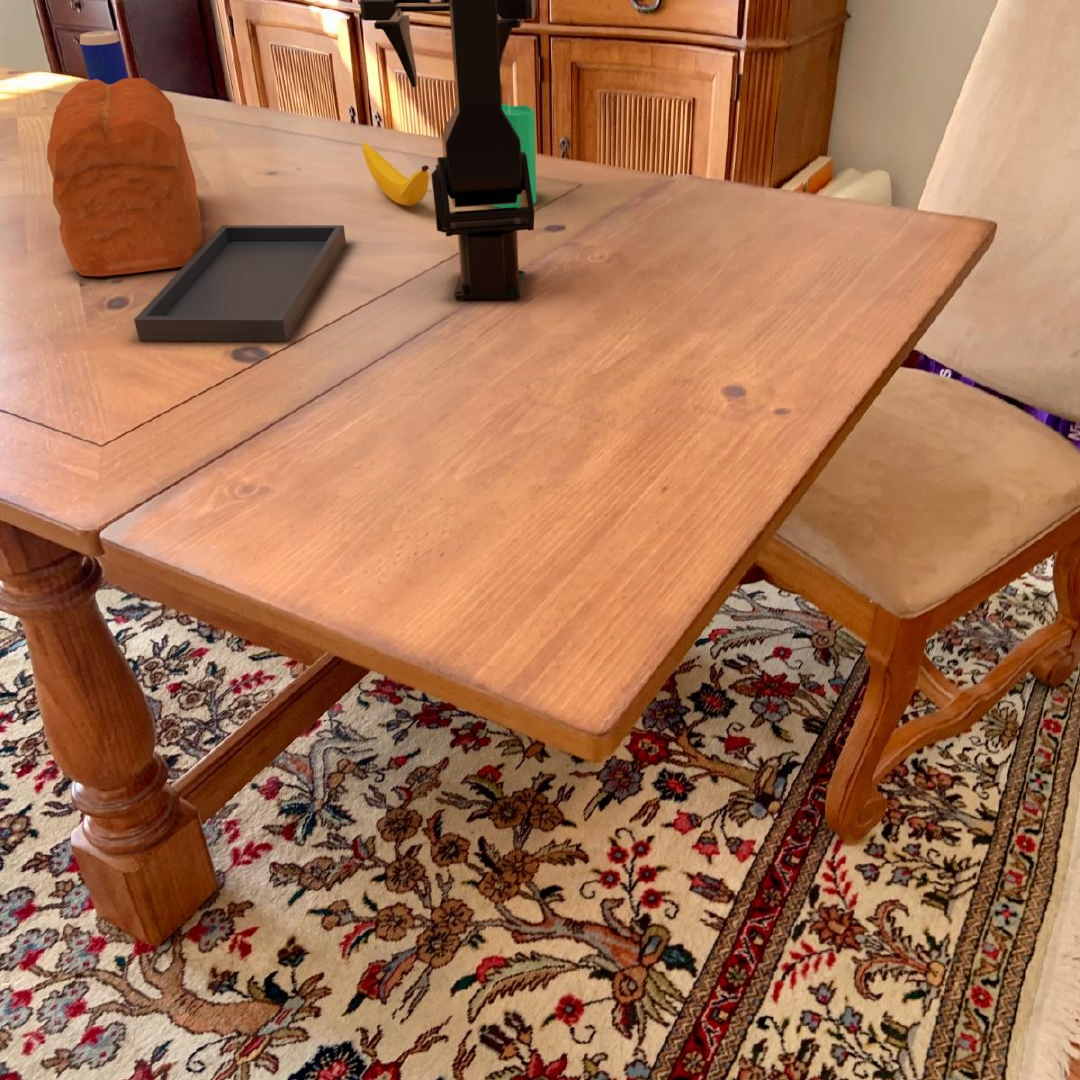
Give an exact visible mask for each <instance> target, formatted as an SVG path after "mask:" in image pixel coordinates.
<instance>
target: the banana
mask: <svg viewBox="0 0 1080 1080" xmlns="http://www.w3.org/2000/svg"><path fill="white" fill-rule="evenodd" d="M362 152H363V157H364V160H365V163H366V166H367V168H368V170H369V172H370V174H371V176H372V178H373V180H374V181H375V183H376V184H377V186H378V187H379V188H380V190H382V192H383V193H384V194H385V195H386V196H387V197H388V198H389V199H391V200H392V201H393V202H394V203H396V204H399V205H402V206H406V207H413V206H414V205H416V204H418V203H420V202H421V201H422V200H423V199H424V198H425V197H426V194H427V192H428V188H429V182H430V174H429V172H428V170H429V169H430V168H429V166H428V165H427V164H426V165H425V164H424V165H423V166H421V169H419V170H418V171H415V173H413V174H412V175H411V176H410V177H409V178H408V177H407V176H405V175H403V173H401V172H400V171H399V170H398V169H397V168H396V167H394V166H393V165H392V164H391V163H390V162H389V161H388V160H387V159H385V157H383V156H382V155H381V154H380V153H379V152H378V151H376V150H375V149H374V148H373V147H372V146H370V145H369V144H368V143H367V142H366V141H365V142H364V141H363V143H362Z"/></svg>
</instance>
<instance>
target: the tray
mask: <svg viewBox="0 0 1080 1080" xmlns="http://www.w3.org/2000/svg"><path fill="white" fill-rule="evenodd" d="M346 245H347V239H346V233H345V226H344V224H337V225H335V224H330V225H329V224H327V225H326V224H321V225H320V224H316V225H315V224H314V225H313V224H312V225H311V224H306V225H305V224H301V225H299V224H298V225H297V224H295V225H293V224H291V225H290V224H285V225H283V224H281V225H280V224H279V225H278V224H277V225H276V224H270V225H267V224H264V225H262V224H261V225H260V224H258V225H257V224H256V225H255V224H253V225H252V224H249V225H247V224H245V225H242V224H241V225H240V224H236V225H235V224H233V225H231V224H229V225H227V224H226V225H224V224H222V225H221V226H220V227H219V228H218V229H217V230H216V231H215V232H214V233H213V234H212V235H211V236H210V237H209V239H208V240H207V241H206V242H205V243H203V246H202V247H201V248H200V250H199V251H198V252H197V253H196V254H195V255H194V256H193V257H192V258H191V259H190V260H189V261H188V262H187V263H186V264H185V265H184V266H182V268H181V269H179V270H178V271H177V272H176V274H175V275H174V276H173V277H172V278H171V279H170V280H169V281H168V282H167V284H166V285H165V286H164V287H163V288H162V289H161V290H160V291H159V292H158V293H157V294H156V295H155V296H154V298H153V299H151V300H150V302H149V303H148V304H147V305H146V306H145V307H144V308H143V310H141V311H140V312H139V313H138V315H136V316H135V317H134V319H133V321H134V325H135V329H136V332H137V336H138V340H139V341H140V342H258V343H259V342H268V343H269V342H278V343H279V342H282V343H283V342H284V343H287V342H288V340H289V338H290V337H291V335H292V334H293V332H294V331H295V329H296V327H297V325H298V324H299V322H300V321H301V319H302V317H303V316H304V315H305V313H306V311H307V309H308V308H309V306H310V305H311V303H312V301H313V299H314V298H315V296H316V294H317V293H318V291H319V289H320V288H321V286H322V284H323V283H324V281H325V279H326V278H327V277H328V276H329V275H328V274H329V273H330V272H331V270H332V268H333V266H334V265H335V263H336V262H337V260H338V258H339V257H340V255H341V253H342V252H343V250H344V248H345V247H346Z"/></svg>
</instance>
